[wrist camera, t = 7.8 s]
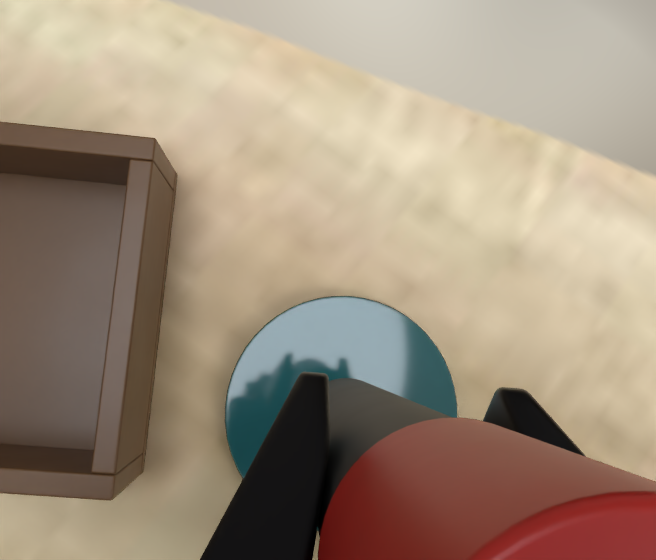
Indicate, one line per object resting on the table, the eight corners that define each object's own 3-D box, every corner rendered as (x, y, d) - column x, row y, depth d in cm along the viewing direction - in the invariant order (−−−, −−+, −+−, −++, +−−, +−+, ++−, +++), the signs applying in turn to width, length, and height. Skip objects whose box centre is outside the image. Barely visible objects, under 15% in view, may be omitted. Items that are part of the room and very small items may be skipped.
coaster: (485, 480, 22) (490, 484, 21) (269, 564, 21) (268, 570, 20) (409, 267, 22) (412, 265, 22) (195, 340, 22) (193, 339, 21)
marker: (411, 457, 17) (1028, 976, 3) (314, 494, 17) (491, 1265, 3) (376, 359, 17) (799, 413, 3) (279, 394, 17) (280, 623, 3)
